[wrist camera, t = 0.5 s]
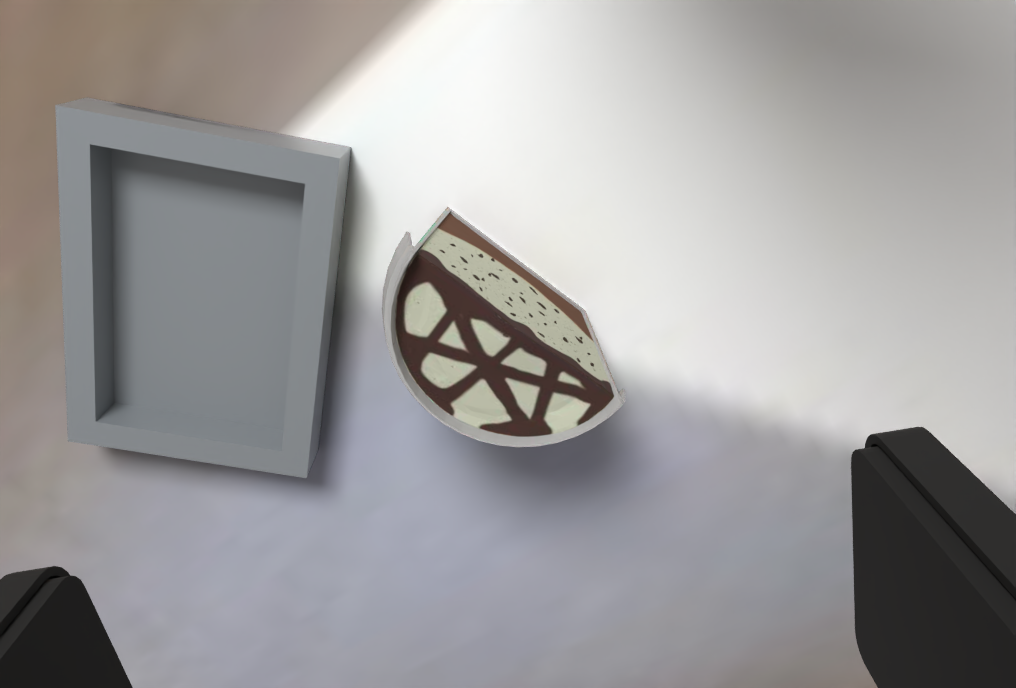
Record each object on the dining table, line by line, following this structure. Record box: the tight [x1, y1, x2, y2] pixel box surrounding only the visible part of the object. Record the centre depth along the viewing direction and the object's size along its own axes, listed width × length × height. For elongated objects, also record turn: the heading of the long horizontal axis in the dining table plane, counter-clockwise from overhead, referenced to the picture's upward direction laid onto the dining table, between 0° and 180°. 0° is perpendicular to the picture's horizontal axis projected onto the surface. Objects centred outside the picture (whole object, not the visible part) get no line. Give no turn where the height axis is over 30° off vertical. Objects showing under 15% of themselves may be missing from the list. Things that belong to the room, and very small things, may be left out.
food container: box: [382, 207, 625, 447], centre depth 39 cm, size 12×6×10 cm, turn 52°
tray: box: [56, 98, 351, 478], centre depth 42 cm, size 18×13×3 cm
